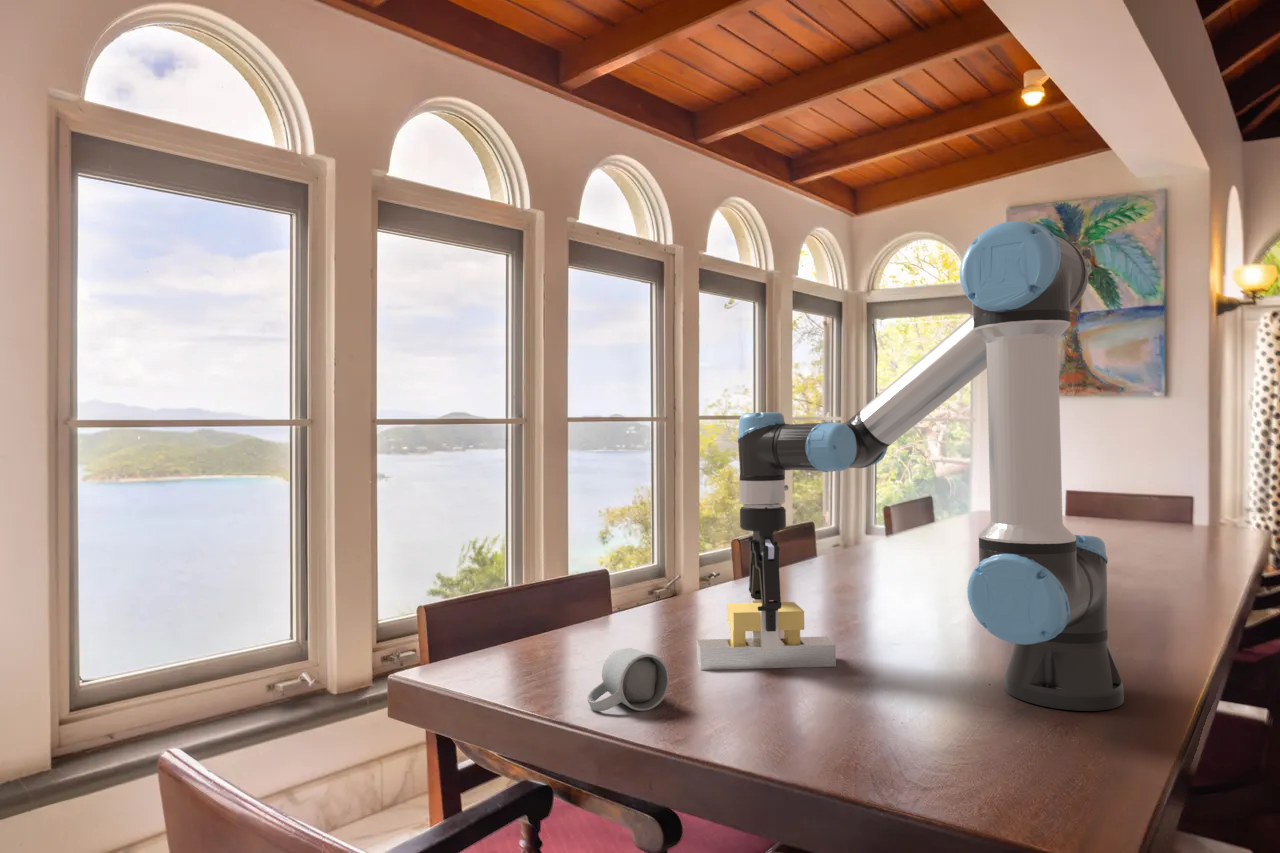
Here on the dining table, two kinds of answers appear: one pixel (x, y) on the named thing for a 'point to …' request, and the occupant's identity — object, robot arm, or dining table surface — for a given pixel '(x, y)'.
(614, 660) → the ceramic mug
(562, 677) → the dining table surface
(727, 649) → the rail
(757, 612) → the yellow bridge
